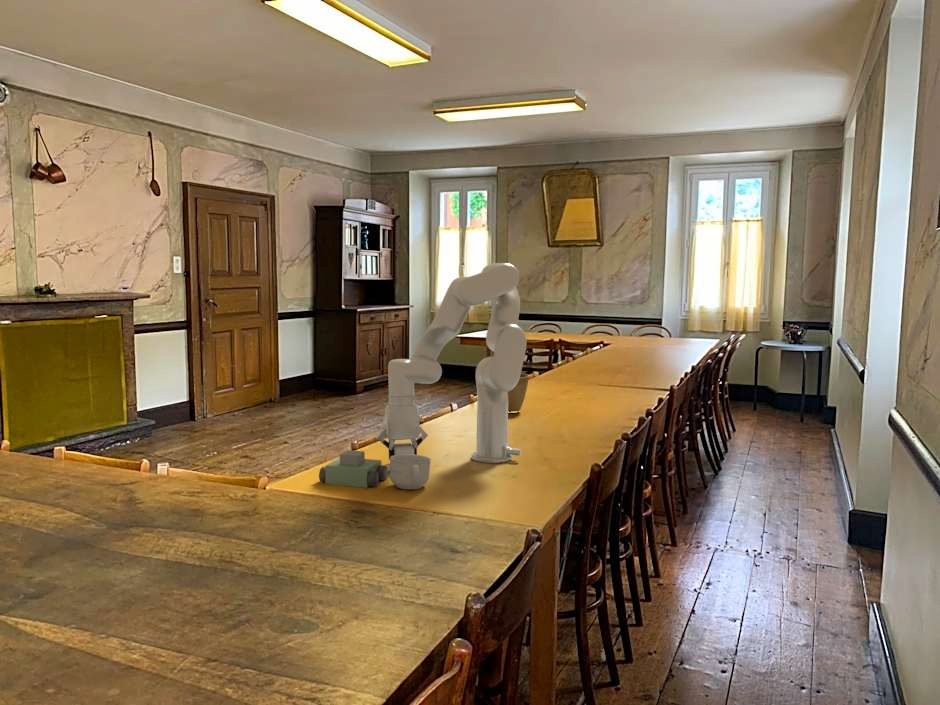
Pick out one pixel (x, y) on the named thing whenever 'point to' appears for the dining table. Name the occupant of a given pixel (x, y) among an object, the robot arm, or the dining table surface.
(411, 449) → the light grey box
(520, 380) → the plant pot
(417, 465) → the teacup
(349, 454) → the toy car
